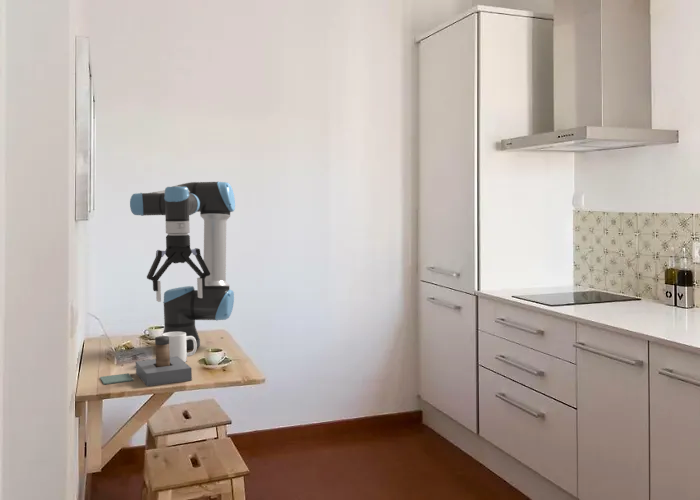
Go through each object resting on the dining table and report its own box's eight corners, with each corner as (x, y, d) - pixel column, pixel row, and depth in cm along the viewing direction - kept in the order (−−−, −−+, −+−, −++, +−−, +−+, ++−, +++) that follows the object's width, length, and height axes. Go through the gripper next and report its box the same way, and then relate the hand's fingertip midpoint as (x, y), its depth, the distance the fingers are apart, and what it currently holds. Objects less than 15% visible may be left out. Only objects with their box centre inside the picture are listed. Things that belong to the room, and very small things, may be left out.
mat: (100, 378, 222) (99, 376, 222) (128, 374, 227) (128, 373, 226) (104, 384, 214) (104, 383, 214) (133, 380, 219) (133, 379, 219)
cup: (161, 360, 245) (160, 332, 245) (195, 357, 250) (194, 329, 249) (164, 365, 238) (163, 337, 237) (199, 362, 242) (198, 334, 242)
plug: (155, 376, 224) (153, 336, 223) (168, 374, 226) (167, 335, 225) (157, 379, 220) (156, 339, 219) (171, 377, 223) (170, 338, 221)
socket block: (136, 373, 228) (135, 361, 228) (178, 367, 235) (177, 356, 234) (147, 386, 212) (146, 373, 212) (191, 380, 219) (191, 367, 218)
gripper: (141, 236, 212) (143, 304, 213) (218, 233, 224) (220, 297, 226) (135, 235, 218) (138, 301, 220) (211, 232, 230) (212, 294, 232)
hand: (179, 299), depth 223 cm, fingers open, 13 cm apart
